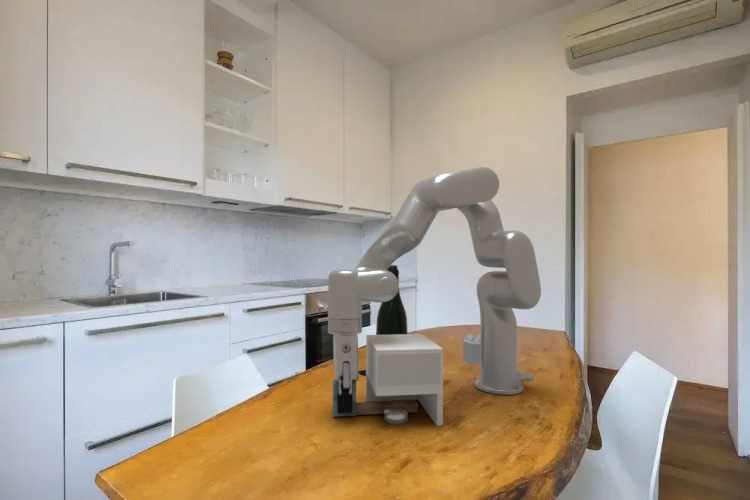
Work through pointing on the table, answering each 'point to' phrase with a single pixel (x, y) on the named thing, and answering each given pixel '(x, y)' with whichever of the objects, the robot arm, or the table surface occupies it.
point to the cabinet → (405, 371)
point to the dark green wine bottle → (392, 313)
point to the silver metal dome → (395, 415)
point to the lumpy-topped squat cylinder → (471, 349)
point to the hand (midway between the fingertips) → (344, 408)
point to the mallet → (369, 403)
